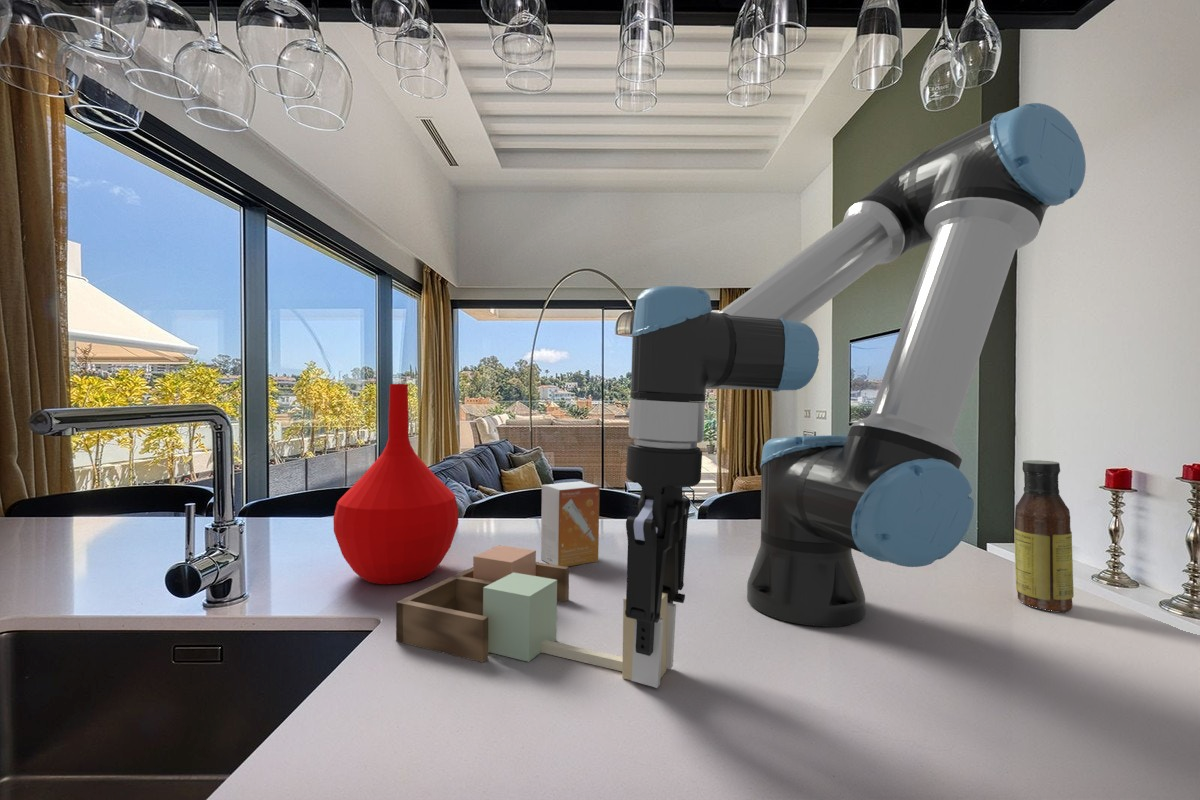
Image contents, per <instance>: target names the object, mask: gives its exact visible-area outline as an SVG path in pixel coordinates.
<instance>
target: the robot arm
mask: <svg viewBox="0 0 1200 800" xmlns="http://www.w3.org/2000/svg"><path fill="white" fill-rule="evenodd" d="M1086 168H1087V167H1086V155H1085V150H1084V145H1083V143H1082V141H1081V139H1080V136H1079V133H1078V132H1077V130H1076V128H1075V127H1074V125H1073V124H1072V123H1071V121H1070V120H1069V119H1068V118H1067V116H1065V114H1063V113H1062V112H1060V111H1059V110H1058V109H1057V108H1055V107H1053V106H1051V105H1048V104H1046V103H1040V102H1036V103H1035V102H1032V103H1031V102H1030V103H1025V104H1023V105H1020V106H1018V107H1016V108H1013V109H1011V110H1009V111H1006V112H999V113H997V114H996V115H994V116H993V117H992V118H991V119H990V120H989V121H986V122H984V123H982V124H980V125H977V126H976V127H973V128H972V129H970V130H968V131H965V132H963V133H961V134H959V135H957V136H955V137H952V138H951V139H949V140H946V141H945V142H942V143H941V144H939V145H937V146H935V147H933V148H931V149H928V150H926V151H924V152H921V153H920V154H918V155H917V156H915V157H913V158H911V159H910V160H909V161H907V162H906V163H904V164H903V165H902V166H901V167H899V168H898V169H897V170H896V171H894V172H893V173H892V174H890V175H889V176H888V177H886V178H885V179H884V180H883V181H882V182H880V183H879V184H878V185H876V186H875V187H874V188H873V189H872V190H871V191H870V190H869V192H868V193H867V194H865V195H864V196H863V197H862V198H860V199H859V200H857V201H856V202H855V203H854V204H853V205H851V206H850V207H849V208H848V209H847V210H846V212H845V214H844V217H843V220H842V221H841V222H840V223H839V224H837V225H836V226H834V227H833V228H832V229H830V230H829V231H827V232H826V233H825V234H824V235H822V236H821V237H820V238H818V239H816V240H815V241H814V242H813V243H812V244H810V245H808V246H807V247H806V248H804V249H803V250H801V251H800V252H799V253H798V254H796V255H794V257H792V258H790V259H789V260H788V261H787V262H785V263H784V264H783V265H781V266H780V267H779V268H777V269H775V270H774V271H773V272H771V273H770V274H768V275H767V276H766V277H765V278H764V279H762V280H761V281H759V282H758V283H757V284H756V285H755V284H754V286H753V287H751V288H750V289H749V290H747V291H746V292H744V293H743V294H741V295H740V296H739V297H737V298H736V299H735V300H733V301H732V302H731V303H729V304H728V305H726V306H725V307H724V308H722V309H721V310H720V311H718V312H713V309H712V304H711V303H712V302H711V295H710V294H709V292H708V291H706V290H704V289H701V288H696V287H693V286H686V285H662V286H661V285H660V286H654V287H649V288H647V289H644V290H643V291H641V292H640V293H639V294H638V296H637V298H636V301H635V302H636V303H635V309H634V316H633V324H632V325H633V326H632V332H631V337H632V340H631V341H632V342H631V344H632V345H631V346H632V348H631V377H630V379H631V380H630V399H629V407H627V408H626V409H625V415H626V416H627V417H628V436H629V438H630V439H632V440H633V442H631V443H629V445H628V446H627V448H626V467H625V475H626V478H627V479H628V480H629V481H630V482H632V483H635V484H638V485H639V486H640V487H641V491H640V496H639V499H638V501H637V504H636V505H637V506H636V511H635V516H629V515H628V517H627V518H626V521H625V528H626V529H625V531H626V536H627V558H626V559H627V564H626V591H625V592H626V596H625V597H626V610H625V615H626V617H628V618H632V619H635V622H634V641H633V660H632V680H630V681H631V682H635V683H639V684H642V685H645V686H649V687H652V688H656V689H658V688H659V686H660V685H661V679H660V674H661V655H662V636H663V619H662V618H660V610H661V600H662V593H667V662H666V669H669V670H671V669H672V668H673V666H674V650H675V633H676V631H675V630H676V614H677V604H676V603H681V604H684V602H685V600H686V594H684V593H679V591H682V590H683V588H684V585H685V584H684V583H685V582H684V577H685V576H684V575H685V563H686V549H687V535H688V519H689V512H690V507H691V503H692V502H691V499H690V498H686V497H683V496H684V491H683V489H684V488H690V487H695V486H697V485H699V483H700V482H701V479H702V467H703V466H702V465H703V464H702V463H703V451H702V450H701V447H698V444H699V443H702V442H703V441H704V438H705V437H704V436H705V435H704V432H705V411H706V409H705V406H706V392H707V390H762V391H763V390H764V391H765V390H766V391H773V392H780V391H797V390H800V389H802V388H804V387H807V385H808V384H809V383H810V382H811V381H812V379H813V378H814V376H815V374H816V372H817V368H818V366H819V359H820V358H819V356H820V355H819V353H820V352H819V351H820V345H819V340H818V338H817V337H818V336H817V335H816V333H815V331H814V330H813V329H812V328H811V327H810V326H809V325H808V324H806V323H804V322H803V321H805V320H806V319H807V318H809V317H810V316H811V315H812V314H814V313H815V312H816V311H817V310H818V309H820V308H822V307H823V306H824V305H826V304H827V303H829V301H831V300H832V299H834V298H835V297H836V296H837V295H839V294H840V293H841V292H842V291H844V290H846V289H847V288H848V287H849V286H850V285H851V284H853V283H855V282H856V281H857V280H858V279H860V278H861V277H862V276H863V275H864V274H866V273H867V272H869V271H870V270H871V269H873V268H874V267H875V266H876V265H886V264H890V263H892V262H894V261H895V260H896V259H898V258H899V257H900V256H901V255H904V253H907V252H909V251H910V250H913V249H914V248H917V247H920V246H922V245H926V244H928V243H930V244H929V247H928V250H927V253H926V256H925V259H924V262H923V264H922V266H921V270H920V272H919V275H918V279H917V282H916V284H915V287H914V290H913V293H912V295H911V298H910V301H909V304H908V307H907V310H906V311H905V312H906V313H905V315H904V318H903V321H902V324H901V327H900V330H899V331H898V335H897V338H896V341H895V344H894V346H893V348H892V352H891V355H890V356H889V360H888V363H887V366H886V368H885V372H884V374H883V377H882V380H881V382H880V386H879V389H878V392H877V394H876V396H875V400H874V403H873V406H872V409H871V411H870V414H869V415H868V416H867V417H865V418H862V419H860V420H859V421H856V422H853V423H852V424H851V425H850V427H849V431H848V434H847V435H835V434H832V435H831V434H830V435H806V436H803V435H802V436H785V437H774V438H771V439H768V440H767V441H766V442H765V443H764V444H763V447H762V451H761V459H760V466H759V467H760V470H761V474H760V475H761V478H760V479H761V480H760V481H761V482H760V484H761V485H760V486H761V487H760V489H761V490H760V491H761V492H760V494H761V495H760V499H761V500H760V543H759V544H760V546H759V548H758V551H757V554H756V557H755V560H754V562H753V565H752V568H751V571H750V574H749V577H748V580H747V586H746V588H747V589H746V592H747V593H746V599H747V602H748V603H749V605H750V606H751V607H753V608H754V609H755V610H756V611H758V612H760V613H762V614H764V615H767V616H769V617H772V618H774V619H777V620H781V621H785V622H788V623H792V624H798V625H804V626H813V627H815V626H816V627H842V626H847V625H848V626H849V625H852V624H855V623H858V622H860V621H861V620H863V619H864V618H865V615H866V594H865V591H864V589H863V585H862V583H861V579H860V575H859V573H858V569H857V567H856V564H855V560H854V557H853V553H852V550H854V551H857V552H859V553H862V554H864V556H867V557H868V558H872V559H874V560H877V561H879V562H885V563H891V564H894V565H897V566H901V567H907V568H919V567H920V568H921V567H924V566H926V567H927V566H929V565H932V564H933V563H934V562H935V561H938V560H941V559H942V560H943V559H944V558H946V557H947V556H949V554H951V553H952V552H953V551H955V549H956V548H957V547H958V546H959V544H960V543H961V542H962V540H963V539H964V537H965V536H966V535H967V532H968V530H969V528H970V526H971V523H972V519H973V516H974V506H975V505H974V504H975V502H974V499H973V498H972V497H970V496H969V495H970V494H971V493H972V492H973V490H972V487H971V484H970V482H969V480H968V478H967V477H966V475H965V474H964V473H963V471H961V470H960V468H961V467H960V466H961V463H962V461H963V454H961V452H960V450H959V449H958V448H957V446H956V445H955V443H954V441H953V440H954V439H953V436H954V433H955V432H956V431H955V430H956V428H957V425H958V422H959V419H960V417H961V413H962V410H963V407H964V403H965V401H966V397H967V396H968V393H969V390H970V386H971V383H972V380H973V377H974V375H975V371H976V368H977V366H978V362H979V360H980V357H981V354H982V351H983V347H984V345H985V342H986V339H987V336H988V333H989V329H990V327H991V325H992V321H993V318H994V315H995V312H996V310H997V309H996V308H997V306H998V303H999V301H1000V297H1001V294H1002V291H1003V288H1004V285H1005V284H1006V283H1005V282H1006V280H1007V277H1008V274H1009V271H1010V267H1011V265H1012V263H1013V259H1014V256H1015V253H1016V250H1018V249H1020V248H1023V247H1025V246H1026V245H1028V244H1030V243H1032V242H1033V241H1034V240H1035V239H1036V238H1037V236H1038V234H1039V232H1040V229H1041V226H1042V222H1043V220H1044V216H1045V215H1046V211H1047V210H1048V208H1050V207H1051V206H1052V207H1053V206H1060V205H1062V204H1064V203H1065V202H1067V200H1070V199H1071V198H1074V197H1075V195H1076V194H1077V193H1078V192H1079V191H1080V189H1081V188H1082V186H1083V183H1084V180H1085V177H1086ZM674 602H675V603H674Z"/></svg>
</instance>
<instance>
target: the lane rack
mask: <svg viewBox="0 0 1200 800" xmlns="http://www.w3.org/2000/svg"><path fill="white" fill-rule="evenodd" d="M536 576H538V577H543V578H549V579H555V580H557V602H558V601H560V602H564V603H565V602H567V601H568V600H569V599H570V597H569V594H570V591H569V589H570V566H567V567H565V566H558V565H552V564H549V563H546V562H545V563H544V562H537V561H536ZM491 583H493V582H492V581H486V580H480V579H474V578H473V566H472V567H470V568H467V569H466V570H464V571H461V572H459V573H457V574H455V575H453V576H450V577H448V578H446V579H444V580H441V581H439V582H437V583H435V584H433V585H430V586H429V587H426V588H424V589H422V590H419V591H418V592H415V593H414V594H411V595H409V596H406V597H405V598H402V599H401V600H398V601H396V603H395V606H396V607H395V608H396V612H395V616H396V620H395V622H396V623H395V624H396V625H395V628H396V629H395V630H396V631H395V632H396V633H395V634H396V636H395V641H396V642H398V643H402V644H406V645H411V646H414V647H418V646H419V647H420V648H423V649H426V648H427V650H430V649H431V651H434V650H435V652H438V651H439V653H442V652H444V653H443V654H446V653H447V654H446V655H450V654H451V655H452V656H455V657H460V658H463V659H467V660H471V661H474V662H475V661H476V662H479V663H484V662H486V661H487V660H488V659H489V652H488V617H486V616H483V587H485V586H487V585H489V584H491ZM451 655H450V656H451Z"/></svg>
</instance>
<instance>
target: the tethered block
mask: <svg viewBox="0 0 1200 800" xmlns="http://www.w3.org/2000/svg"><path fill="white" fill-rule="evenodd" d="M622 607H623V608H622V609H623V611H622V612H623V613H622V656H620V655H615V654H611V653H606V652H602V651H598V650H592V649H588V648H584V647H579V646H575V645H571V644H567V643H566V644H565V643H560V642H557V626H558V625H557V623H558V622H557V621H558V619H557V615H558V614H557V613H558V600H557V580H555V579H549V578H543V577H538V576H532V575H526V574H520V573H514V572H513V573H511V574H509V575H507V576H505V577H503V578H501V579H499V580H497V581H495V582H493V583H491V584H489V585H487V586H485V587H483V616H486V617H488V653H491V654H495V655H499V656H503V657H507V658H511V659H515V660H516V659H517V660H520V661H523V662H527V663H528V662H531V660H533V659H534V658H536V657H537V656H538V655H540V654H547V655H551V656H555V657H560V658H564V659H569V660H572V661H575V662H576V661H577V662H580V663H586V664H588V665H594V666H597V667H601V668H607V669H610V670H615V671H619V672H622V673H621V674H622V676H621V677H622V679H625V680H629V681H631V680H632V660H633V641H634V622H635V619H632V618H628V617H626V615H625V610H626V596H625V597H624V598H623V605H622ZM660 618H662V619H663V636H662V655H661V674H660V680H661V679H662V678H663V676H664V674H665V673H666V672H667V668H666V662H667V593H662V600H661V610H660Z"/></svg>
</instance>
